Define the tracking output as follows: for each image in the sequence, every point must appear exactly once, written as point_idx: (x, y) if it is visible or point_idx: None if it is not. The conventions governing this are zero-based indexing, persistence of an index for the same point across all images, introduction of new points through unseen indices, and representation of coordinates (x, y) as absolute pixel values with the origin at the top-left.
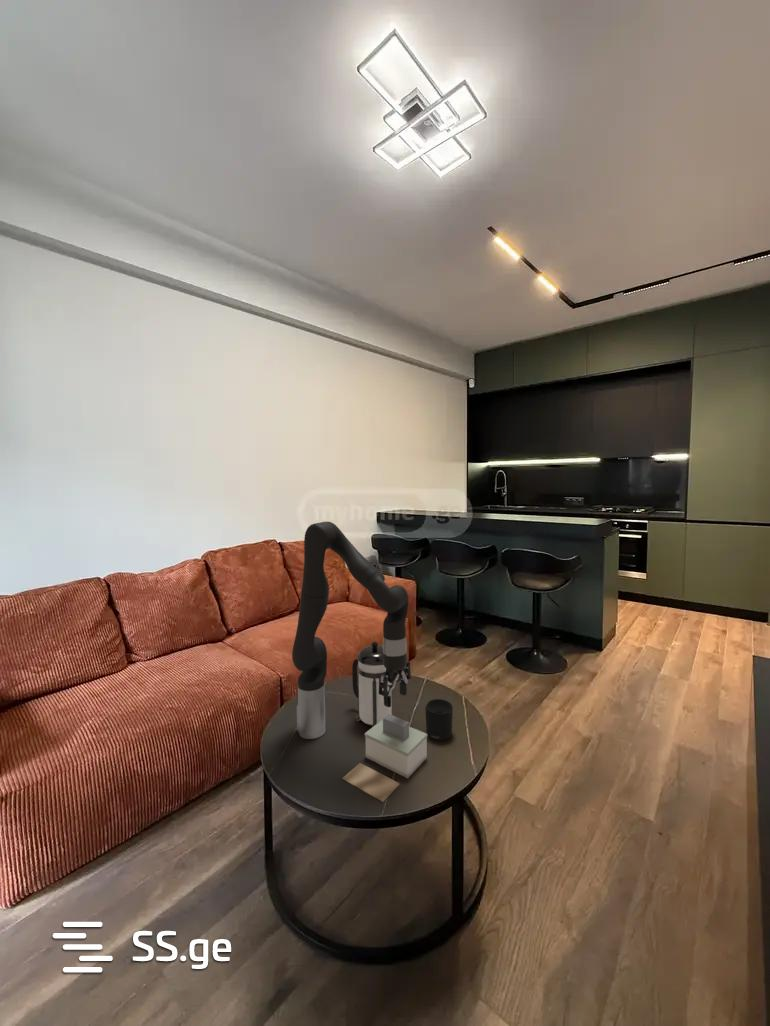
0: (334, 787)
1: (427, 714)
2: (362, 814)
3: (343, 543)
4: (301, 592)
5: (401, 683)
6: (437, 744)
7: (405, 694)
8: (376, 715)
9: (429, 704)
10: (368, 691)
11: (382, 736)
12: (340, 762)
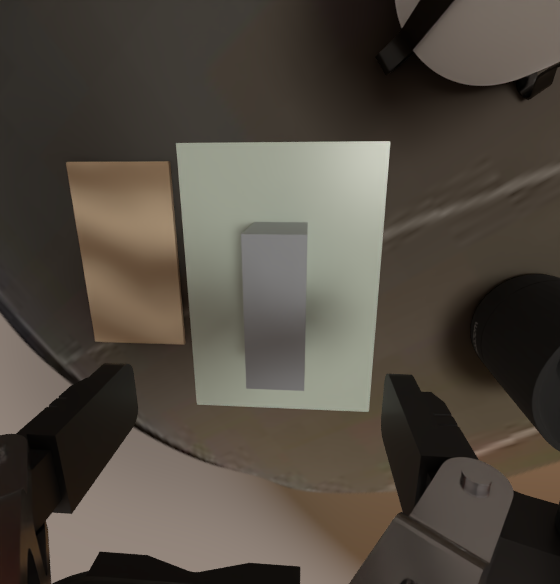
0: (23, 165)
1: (534, 341)
2: (25, 316)
3: None
4: None
5: (417, 483)
6: (449, 349)
7: (384, 438)
8: (423, 35)
9: None
10: None
11: (219, 245)
12: (123, 80)
